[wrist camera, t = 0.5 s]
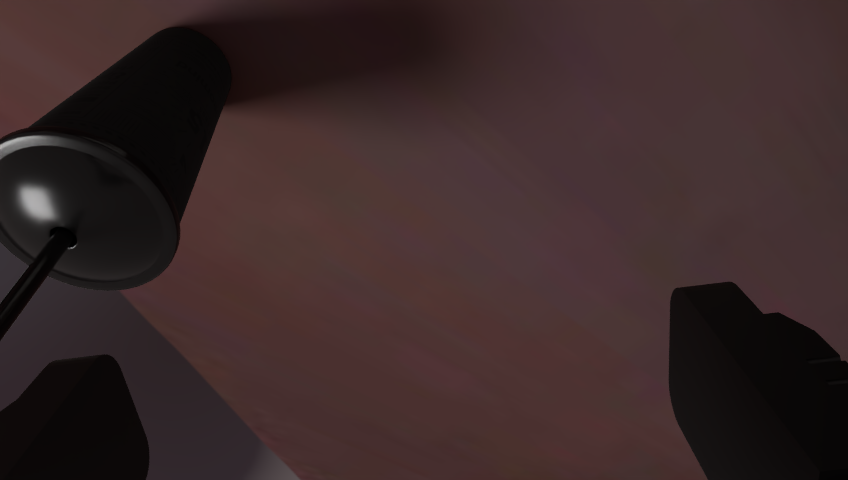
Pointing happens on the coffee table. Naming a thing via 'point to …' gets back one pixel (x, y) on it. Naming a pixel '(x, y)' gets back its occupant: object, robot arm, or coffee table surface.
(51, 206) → the drinking cup
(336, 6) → the coffee table surface
